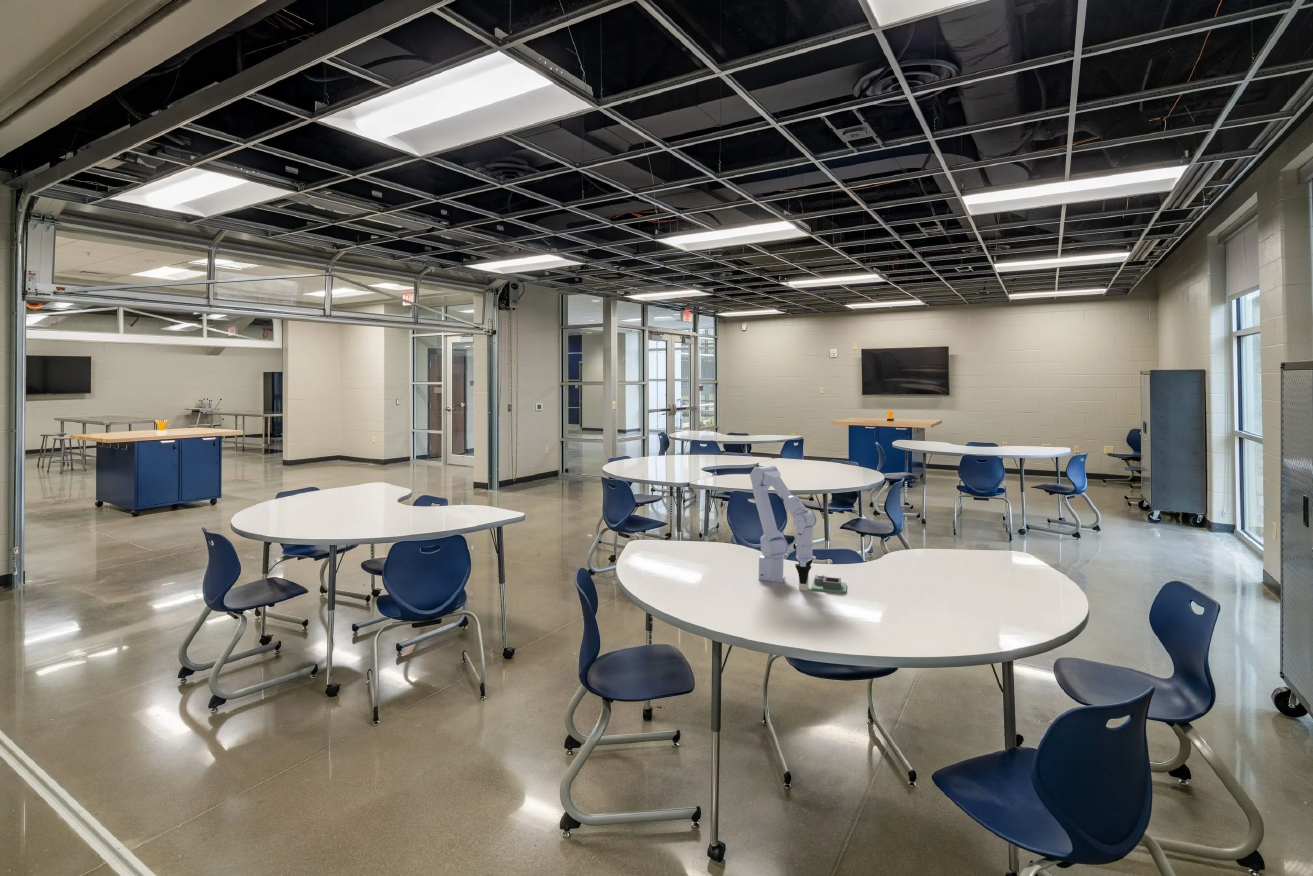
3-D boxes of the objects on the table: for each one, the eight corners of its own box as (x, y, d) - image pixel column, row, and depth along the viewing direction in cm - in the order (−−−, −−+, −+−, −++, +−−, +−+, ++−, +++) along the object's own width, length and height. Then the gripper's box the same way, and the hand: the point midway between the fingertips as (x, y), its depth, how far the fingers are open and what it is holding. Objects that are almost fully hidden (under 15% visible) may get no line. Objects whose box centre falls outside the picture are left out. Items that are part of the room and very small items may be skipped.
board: (811, 590, 226) (812, 580, 226) (813, 581, 236) (813, 572, 235) (845, 593, 223) (846, 583, 222) (846, 585, 232) (846, 575, 232)
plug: (798, 589, 227) (799, 571, 226) (799, 586, 230) (799, 569, 229) (807, 590, 226) (808, 572, 225) (808, 587, 229) (808, 569, 229)
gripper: (814, 550, 219) (814, 587, 220) (816, 540, 232) (816, 575, 233) (794, 548, 221) (793, 585, 222) (797, 539, 234) (797, 574, 236)
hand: (803, 580), depth 228 cm, fingers open, 7 cm apart
